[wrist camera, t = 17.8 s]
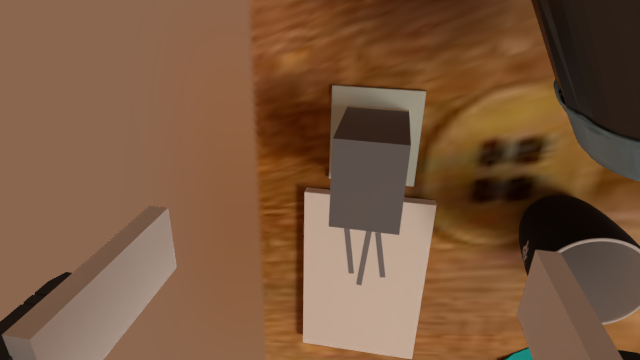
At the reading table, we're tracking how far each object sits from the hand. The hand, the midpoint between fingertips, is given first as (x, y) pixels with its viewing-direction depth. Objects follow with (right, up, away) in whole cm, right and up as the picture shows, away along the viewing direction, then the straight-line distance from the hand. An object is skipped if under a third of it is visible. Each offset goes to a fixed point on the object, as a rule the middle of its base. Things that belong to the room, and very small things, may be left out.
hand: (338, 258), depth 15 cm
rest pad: (+5, +7, +28) cm, 29 cm away
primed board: (+4, -9, +35) cm, 37 cm away
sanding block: (+5, +6, +28) cm, 29 cm away
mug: (+24, -3, +29) cm, 38 cm away
